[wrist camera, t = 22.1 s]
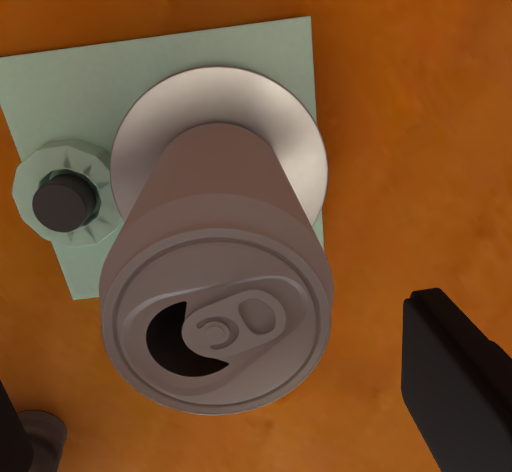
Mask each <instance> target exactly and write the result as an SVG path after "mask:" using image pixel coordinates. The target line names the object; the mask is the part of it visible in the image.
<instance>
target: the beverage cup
mask: <svg viewBox="0 0 512 472" xmlns="http://www.w3.org/2000/svg"><path fill="white" fill-rule="evenodd" d="M17 415H18V417H19V419H20V421H21V423H22V425H23V427H24V429H25V431H26V433H27V436H28V438H29V440H30V442H31V444H32V446H33V450H34V457H33V462H32V465H31V467H30V469H29V471H28V472H57V471H58V467H59V464H60V460H61V457H62V452H63V446H64V442H65V440H66V435H67V431H66V427H65V426H64V424H63V423H62V422H61V420H59V419H58V418H56V417H55V416H54V415H51V414H49V413H46V412H42V411H36V410H33V411H23V412H20V413H17Z"/></svg>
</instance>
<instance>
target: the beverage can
mask: <svg viewBox="0 0 512 472" xmlns="http://www.w3.org/2000/svg"><path fill="white" fill-rule="evenodd" d="M333 292H334V287H333V278H332V272H331V268H330V265H329V262H328V259H327V257H326V254H325V252H324V250H323V248H322V246H321V244H320V242H319V240H318V238H317V236H316V234H315V232H314V230H313V228H312V226H311V224H310V222H309V220H308V218H307V216H306V214H305V212H304V210H303V208H302V206H301V204H300V202H299V200H298V198H297V196H296V194H295V192H294V190H293V188H292V186H291V184H290V182H289V180H288V178H287V176H286V174H285V172H284V170H283V168H282V166H281V164H280V162H279V160H278V158H277V156H276V154H275V153H274V151H273V150H272V149H271V147H270V146H269V145H268V144H267V143H266V142H265V141H264V140H263V139H261V138H260V137H259V136H257V135H256V134H254V133H253V132H251V131H249V130H247V129H245V128H242V127H240V126H236V125H232V124H226V123H210V124H204V125H200V126H197V127H194V128H191V129H189V130H187V131H185V132H183V133H182V134H180V135H179V136H177V137H176V138H175V139H174V140H173V141H172V142H171V143H170V144H169V145H168V146H167V147H166V148H165V150H164V151H163V153H162V154H161V156H160V158H159V160H158V161H157V163H156V165H155V167H154V169H153V171H152V173H151V174H150V176H149V178H148V180H147V182H146V184H145V186H144V187H143V189H142V191H141V193H140V195H139V197H138V199H137V201H136V202H135V204H134V206H133V208H132V210H131V212H130V214H129V215H128V217H127V219H126V221H125V223H124V225H123V227H122V228H121V230H120V232H119V234H118V236H117V238H116V240H115V241H114V243H113V245H112V247H111V249H110V251H109V253H108V255H107V257H106V259H105V262H104V264H103V267H102V271H101V275H100V280H99V301H100V309H101V328H102V337H103V343H104V347H105V350H106V352H107V354H108V357H109V359H110V361H111V363H112V364H113V366H114V367H115V369H116V370H117V371H118V373H119V374H120V375H121V376H122V378H123V379H124V380H125V381H126V382H127V383H128V384H130V385H131V386H132V387H133V388H134V389H135V390H137V391H138V392H139V393H141V394H142V395H144V396H145V397H147V398H149V399H150V400H152V401H154V402H157V403H159V404H161V405H163V406H166V407H169V408H172V409H175V410H178V411H182V412H187V413H193V414H201V415H226V414H235V413H241V412H245V411H250V410H253V409H256V408H259V407H262V406H265V405H267V404H270V403H272V402H274V401H276V400H277V399H279V398H281V397H283V396H284V395H286V394H288V393H289V392H291V391H292V390H293V389H295V388H296V387H297V386H298V385H299V384H300V383H302V382H303V381H304V380H305V379H306V378H307V377H308V376H309V374H310V373H311V372H312V371H313V370H314V368H315V367H316V365H317V364H318V362H319V360H320V359H321V357H322V355H323V353H324V351H325V348H326V345H327V342H328V339H329V334H330V327H331V309H332V303H333Z"/></svg>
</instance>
